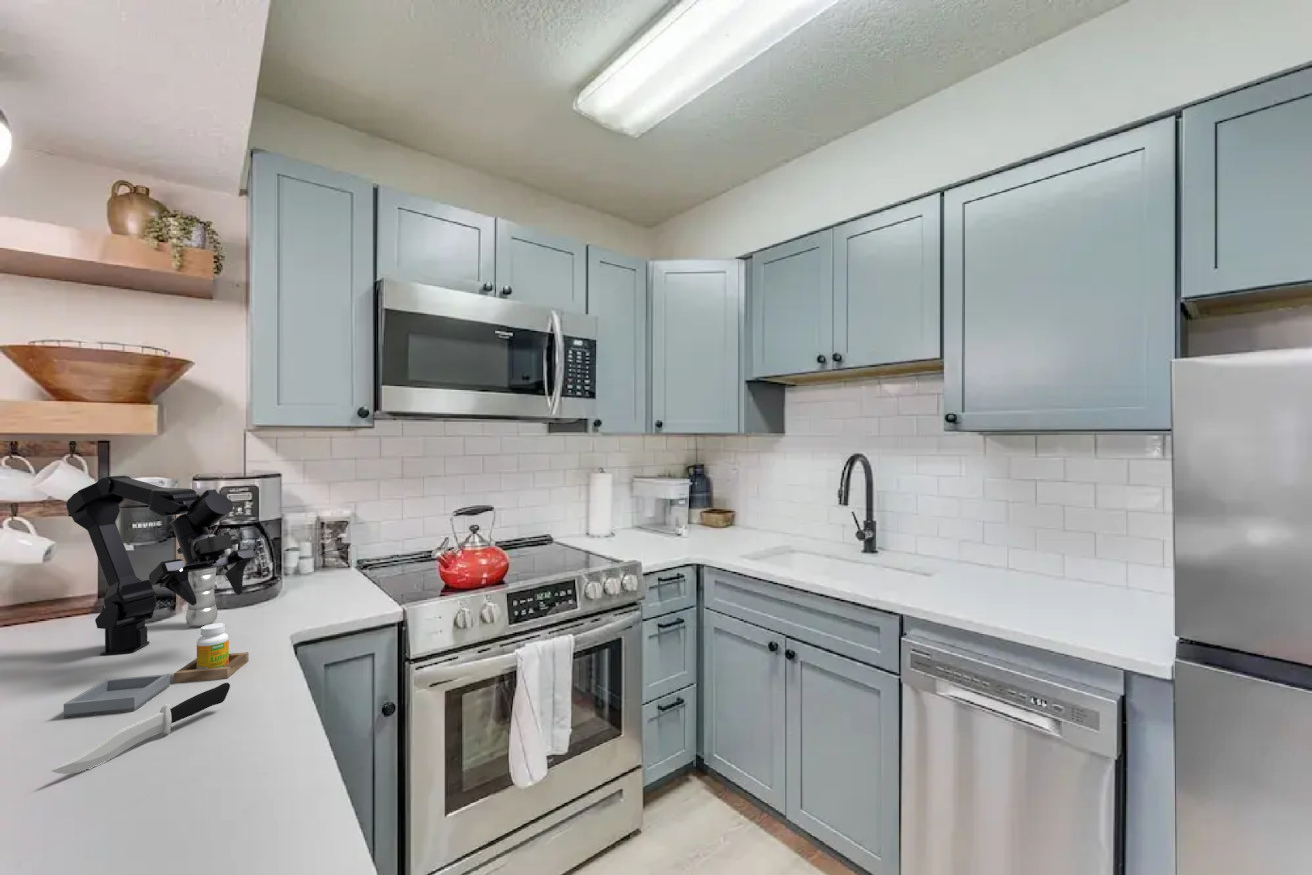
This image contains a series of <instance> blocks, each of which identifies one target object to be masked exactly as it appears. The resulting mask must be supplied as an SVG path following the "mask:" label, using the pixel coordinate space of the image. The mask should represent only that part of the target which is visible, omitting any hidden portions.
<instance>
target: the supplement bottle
mask: <svg viewBox="0 0 1312 875" xmlns="http://www.w3.org/2000/svg"><path fill="white" fill-rule="evenodd" d="M225 627H226V626H225V623H221V622H218V623H217V622H216V623H210V624H207V625H204V626H200V635H201V637H199V638H198V639H197V641H196V658H197V669H207V668H218V667H224V666H226V665H227V664H228V663H229V654H230V653H229V652H230V647H229V646H230V641H229V640H230V638H229V635H228V634H227V633H226V632H225V630H226V629H225Z"/></svg>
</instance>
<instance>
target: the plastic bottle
mask: <svg viewBox="0 0 1312 875" xmlns="http://www.w3.org/2000/svg"><path fill="white" fill-rule="evenodd" d="M217 568H218V567H216V568H210V569H204V570H199V571H193V572H188V580H189V583H190V585H191V587H192V590H193V592H194V595H195V597H196V601H197V603H196V604H195V605H194V606H192V605H191V604H189V603H188V602H187V610H186V615H185V620H186V624H187V625H188V626H189V627H203V625H204V626H205V625H209V624H214V622H215V621H216V620H217V618H218V614H219V613H218V608H217V605H216V598H215V584H216V583H215V581H216V576H217Z"/></svg>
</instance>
